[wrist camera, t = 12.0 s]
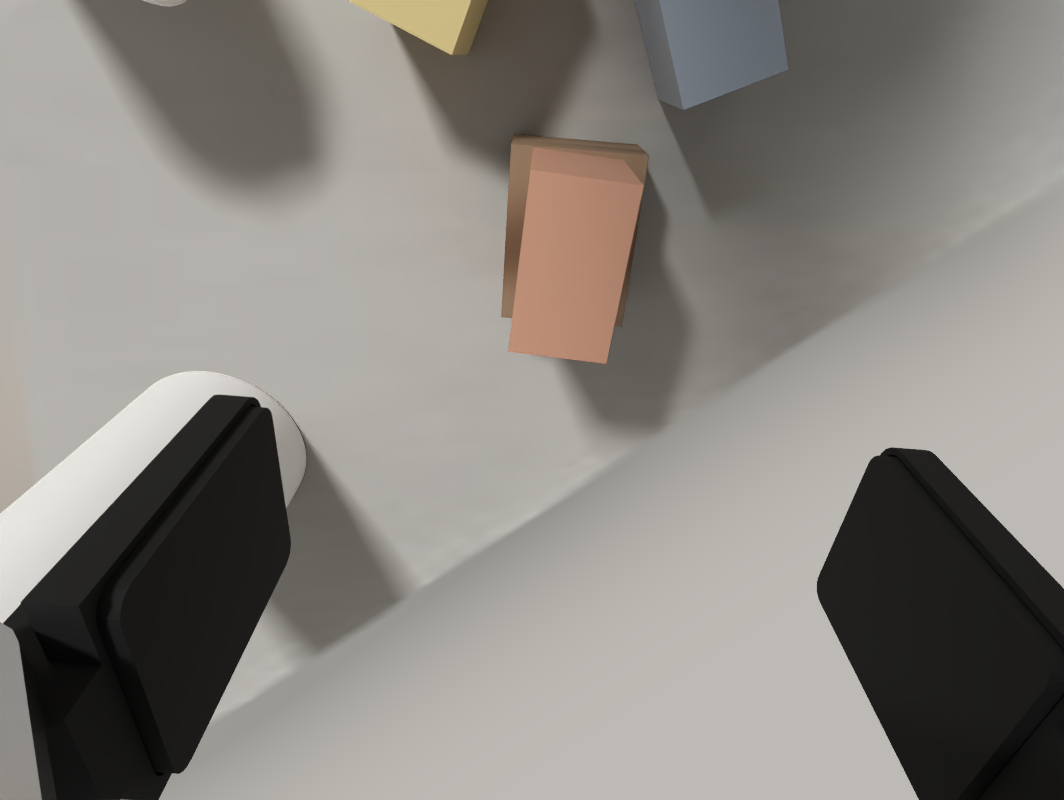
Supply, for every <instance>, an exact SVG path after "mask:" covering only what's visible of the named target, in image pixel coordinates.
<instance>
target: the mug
mask: <svg viewBox="0 0 1064 800" xmlns="http://www.w3.org/2000/svg"><path fill="white" fill-rule="evenodd" d="M142 1H145V2H148V3H152V4H155V5H160V6H177V5H180V4H183V3H184V2H186V1H187V0H142Z"/></svg>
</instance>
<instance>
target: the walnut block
mask: <svg viewBox="0 0 1064 800" xmlns="http://www.w3.org/2000/svg"><path fill="white" fill-rule="evenodd" d="M533 147H535V148H542V149H549V150H556V151H563V152H570V153H577V154H584V155H591V156H598V157H605V158H612V159H619V160H624V161H625V162H626V163H627V165H628V166H629V167H630V169H631V170H632V171H633V172H634V174H635V175H636V176H637V178H638V179H639V180H640V182H641V183H642V184H643V185H644V184H645V178H646V171H647V165H648V159H649V155H648V154H647V153H646V152H645V151H644V150H643V149H642V148H641V147H639V146H638V145H635V144H623V143H611V142H600V141H588V140H576V139H564V138H553V137H541V136H529V135H518V134H514V137H513V140H512V143H511V155H510V172H509V190H508V208H507V226H506V243H505V261H504V279H503V297H502V314H501V317H506V318H512V316H513V307H514V299H515V291H516V283H517V274H518V266H519V258H520V250H521V242H522V234H523V226H524V217H525V209H526V201H527V193H528V185H529V177H530V169H531V160H532V152H533ZM643 190H644V187H643ZM642 196H643V192H642ZM642 196H641V201H640V206H639V211H638V215H637V220H636V225H635V229H634V234H633V239H632V244H631V248H630V253H629V258H628V263H627V267H626V272H625V277H624V282H623V286H622V291H621V296H620V301H619V305H618V310H617V315H616V320H615V324H614V326H621V327H622V322H623V315H624V309H625V303H626V297H627V290H628V284H629V278H630V271H631V265H632V259H633V253H634V246H635V240H636V234H637V228H638V221H639V215H640V209H641V203H642Z"/></svg>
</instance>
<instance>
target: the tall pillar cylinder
mask: <svg viewBox="0 0 1064 800" xmlns="http://www.w3.org/2000/svg"><path fill="white" fill-rule="evenodd" d="M218 394H219V395H232V396H245V397H255V398H256V399H258V401H259V403H260V405H261V407H264V408H268V409H270V411H271V413H272V417H273V424H274V430H275V437H276V444H277V451H278V458H279V464H280V471H281V478H282V485H283V492H284V498H285V505H286V508H287V507H288V505H289V503H290V501H291V500H292V498H293V496H294V494H295V492H296V491H297V489H298V487H299V485H300V483H301V481H302V479H303V476H304V473H305V469H306V450H305V445H304V441H303V438H302V436H301V433H300V431H299V429H298V427H297V426H296V424H295V422H294V421H293V419H292V418H291V417H290V415H289V414H288V413H287V412H286V411H285V409H284V408H283V407H282V406H281V405H280V404H279V403H278V402H276V401H275V400H274V399H273V398H272V397H270V396H269V395H268V394H266V393H265V392H263V391H262V390H260V389H259V388H257V387H255V386H253V385H252V384H250V383H247V382H245V381H243V380H241V379H238V378H235V377H232V376H229V375H225V374H221V373H216V372H208V371H188V372H182V373H177V374H173V375H170V376H168V377H165V378H163V379H161V380H159V381H157V382H156V383H154V384H153V385H152V386H150V387H149V388H148V389H147V390H145V391H144V392H143V393H142V394H141V395H140V396H138V397H137V398H136V399H135V400H134V401H132V402H131V403H130V404H129V405H128V406H127V407H125V408H124V409H123V410H122V411H121V412H120V413H118V414H117V415H116V416H115V417H114V418H112V419H111V420H110V421H109V422H108V423H107V424H105V425H104V426H103V427H102V428H101V429H100V430H98V431H97V432H96V433H95V434H94V435H92V436H91V437H90V438H89V439H88V440H87V441H85V442H84V443H83V444H82V445H81V446H79V447H78V448H77V449H76V450H75V451H74V452H72V453H71V454H70V455H69V456H68V457H67V458H65V459H64V460H63V461H62V462H61V463H59V464H58V465H57V466H56V467H55V468H54V469H52V470H51V471H50V472H49V473H48V474H47V475H45V476H44V477H43V478H42V479H41V480H39V481H38V482H37V483H36V484H35V485H34V486H32V488H30V489H29V490H28V491H27V492H25V493H24V494H23V495H22V496H21V497H19V498H18V499H17V500H16V501H15V502H14V503H13V504H11V505H10V506H9V507H8V508H7V509H5V510H4V511H3V512H2V513H1V514H0V622H1V623H2V624H3V623H4V622H5V620H6V619H7V618H8V617H9V616H10V615H11V614H12V613H13V612H14V611H15V610H16V609H17V608H18V606H19V605H20V604H21V603H20V602H21V601H22V600H23V599H24V598H25V597H26V596H27V595H28V593H29V592H30V591H31V590H32V589H33V588H34V587H35V586H36V585H37V584H38V583H39V582H40V581H41V579H42V578H43V577H44V576H45V575H46V574H47V573H48V572H49V571H50V570H51V569H52V568H53V567H54V565H55V564H56V563H57V562H58V561H59V560H60V559H61V558H62V557H63V556H64V555H65V554H66V553H67V552H68V550H69V549H70V548H71V547H72V546H73V545H74V544H75V543H76V542H77V541H78V540H79V539H80V538H81V536H82V535H83V534H84V533H85V532H86V531H87V530H88V529H89V528H90V527H91V526H92V525H93V524H94V522H95V521H96V520H97V519H98V518H99V517H100V516H101V515H102V514H103V513H104V512H105V511H106V510H107V508H108V507H109V506H110V505H111V504H112V503H113V502H114V501H115V500H116V499H117V498H118V497H119V496H120V495H121V493H122V492H123V491H124V490H125V489H126V488H127V487H128V486H129V485H130V484H131V483H132V482H133V481H134V479H135V478H136V477H137V476H138V475H139V474H140V473H141V472H142V471H143V470H144V469H145V468H146V467H147V465H148V464H149V463H150V462H151V461H152V460H153V459H154V458H155V457H156V456H157V455H158V454H159V453H160V451H161V450H162V449H163V448H164V447H165V446H166V445H167V444H168V443H169V442H170V441H171V440H172V439H173V438H174V436H175V435H176V434H177V433H178V432H179V431H180V430H181V429H182V428H183V427H184V426H185V425H186V424H187V422H188V421H189V420H190V419H191V418H192V417H193V416H194V415H195V414H196V413H197V412H198V411H199V410H200V408H201V407H202V406H203V405H204V404H205V403H206V402H207V401H208V400H209V399H210V398H211V397H212V396H214V395H218ZM120 800H123V799H120Z"/></svg>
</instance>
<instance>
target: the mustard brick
mask: <svg viewBox="0 0 1064 800" xmlns="http://www.w3.org/2000/svg"><path fill="white" fill-rule="evenodd" d="M349 1H350V2H352V3H353V4H355V5H357V6H359V7H361V8H363V9H365V10H367V11H369V12H371V13H372V14H374V15H376V16H378V17H380V18H382V19H384V20H386V21H388V22H390V23H391V24H393V25H395V26H397V27H399V28H401V29H403V30H405V31H407V32H409V33H410V34H412V35H414V36H416V37H418V38H420V39H422V40H424V41H426V42H428V43H429V44H431V45H433V46H435V47H437V48H439V49H441V50H443V51H445V52H447V53H448V54H450V55H468V54H469V51H470V49H471V46H472V43H473V40H474V38H475V35H476V32H477V30H478V27H479V24H480V21H481V19H482V16H483V13H484V11H485V8H486V5H487V2H488V0H349Z"/></svg>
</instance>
